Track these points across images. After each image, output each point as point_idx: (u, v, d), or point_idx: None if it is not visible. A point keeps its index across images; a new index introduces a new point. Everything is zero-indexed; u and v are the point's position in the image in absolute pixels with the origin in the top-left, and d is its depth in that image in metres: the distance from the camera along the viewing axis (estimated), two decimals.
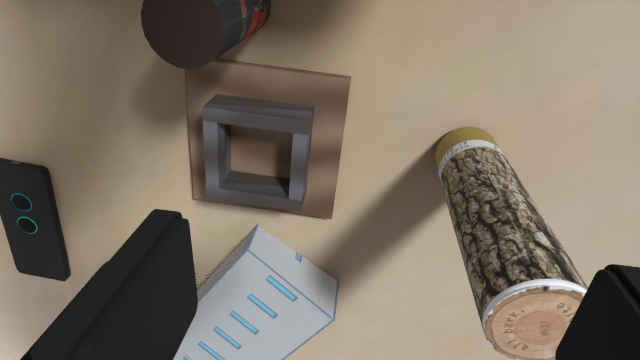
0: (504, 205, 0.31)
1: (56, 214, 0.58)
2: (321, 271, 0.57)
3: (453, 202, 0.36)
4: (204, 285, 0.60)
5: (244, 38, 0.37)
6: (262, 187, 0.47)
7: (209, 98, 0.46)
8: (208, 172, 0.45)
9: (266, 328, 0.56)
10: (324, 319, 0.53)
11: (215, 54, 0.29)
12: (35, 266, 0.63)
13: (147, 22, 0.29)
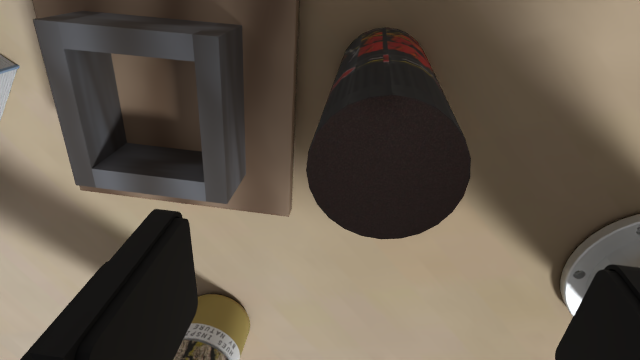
0: None
1: None
2: None
3: None
4: None
5: None
6: (95, 113, 0.28)
7: (231, 9, 0.26)
8: (90, 31, 0.23)
9: None
10: None
11: (336, 220, 0.16)
12: None
13: (396, 108, 0.14)
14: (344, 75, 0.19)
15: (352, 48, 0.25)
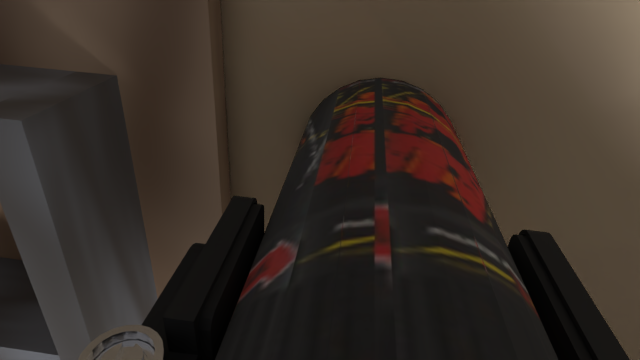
0: None
1: None
2: None
3: None
4: None
5: None
6: None
7: (93, 48, 0.14)
8: None
9: None
10: None
11: None
12: None
13: None
14: (268, 271, 0.07)
15: (316, 127, 0.13)
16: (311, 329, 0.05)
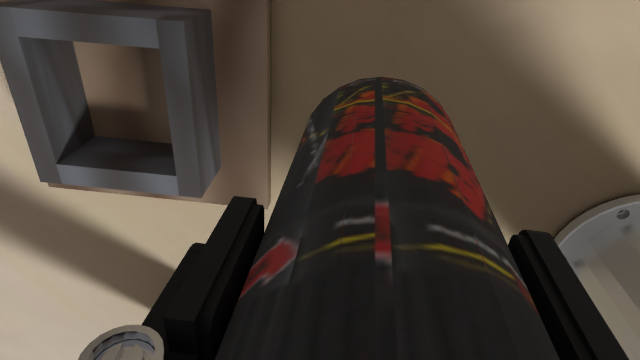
0: None
1: None
2: None
3: None
4: None
5: None
6: (57, 106, 0.26)
7: None
8: (46, 17, 0.22)
9: None
10: None
11: None
12: None
13: None
14: (269, 268, 0.07)
15: (316, 126, 0.13)
16: (312, 325, 0.05)
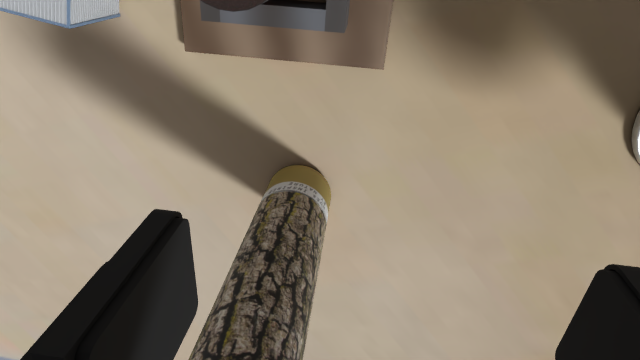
0: (309, 300, 0.29)
1: None
2: None
3: (282, 233, 0.32)
4: None
5: None
6: None
7: None
8: None
9: None
10: (56, 12, 0.31)
11: None
12: None
13: None
14: None
15: None
16: None
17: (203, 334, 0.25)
